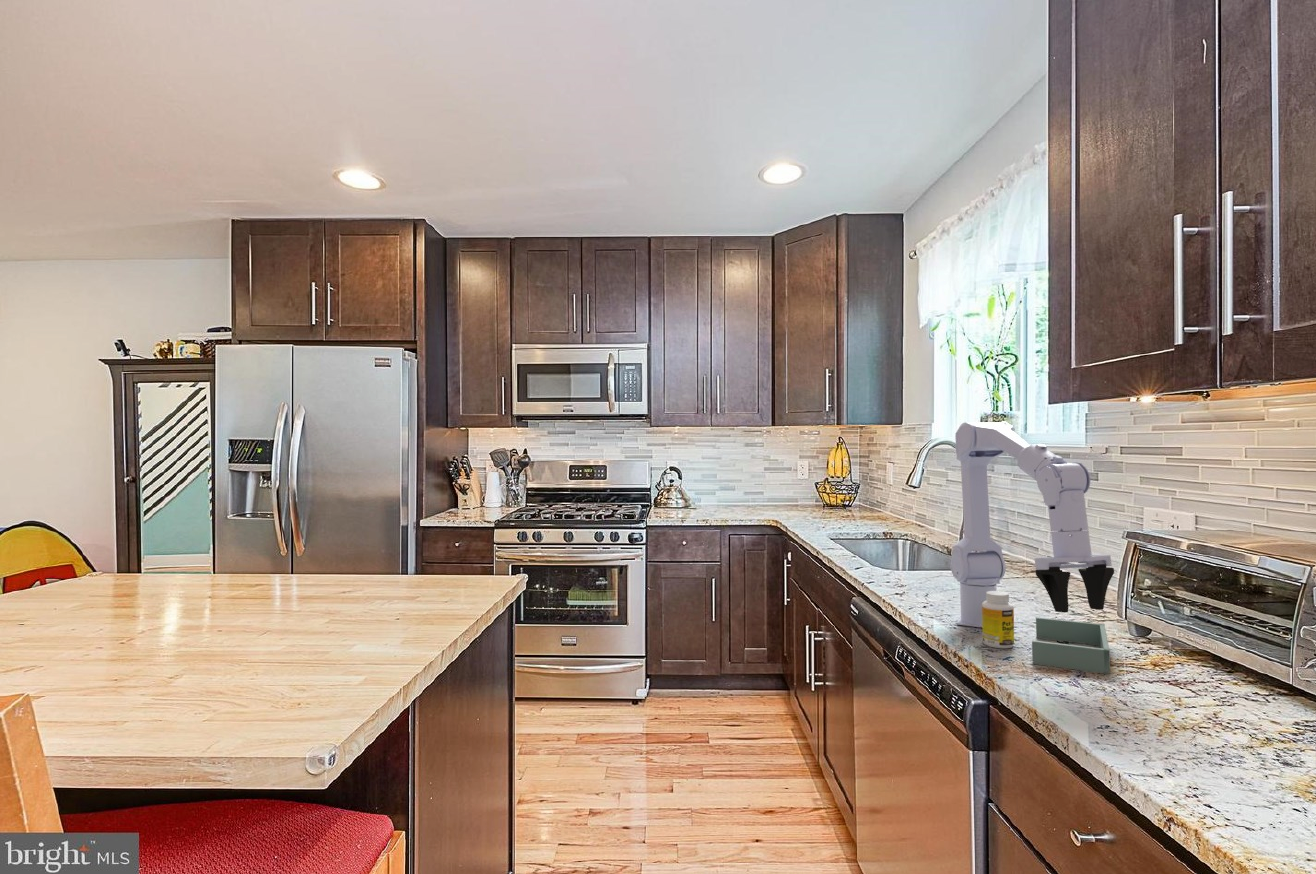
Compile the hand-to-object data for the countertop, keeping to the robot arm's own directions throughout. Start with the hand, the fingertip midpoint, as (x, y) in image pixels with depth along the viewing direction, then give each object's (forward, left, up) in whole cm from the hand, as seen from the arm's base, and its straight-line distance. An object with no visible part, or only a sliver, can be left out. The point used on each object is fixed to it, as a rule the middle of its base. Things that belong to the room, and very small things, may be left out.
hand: (1079, 610), depth 118 cm
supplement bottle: (-10, -14, -11) cm, 20 cm away
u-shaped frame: (-10, -2, -11) cm, 15 cm away
